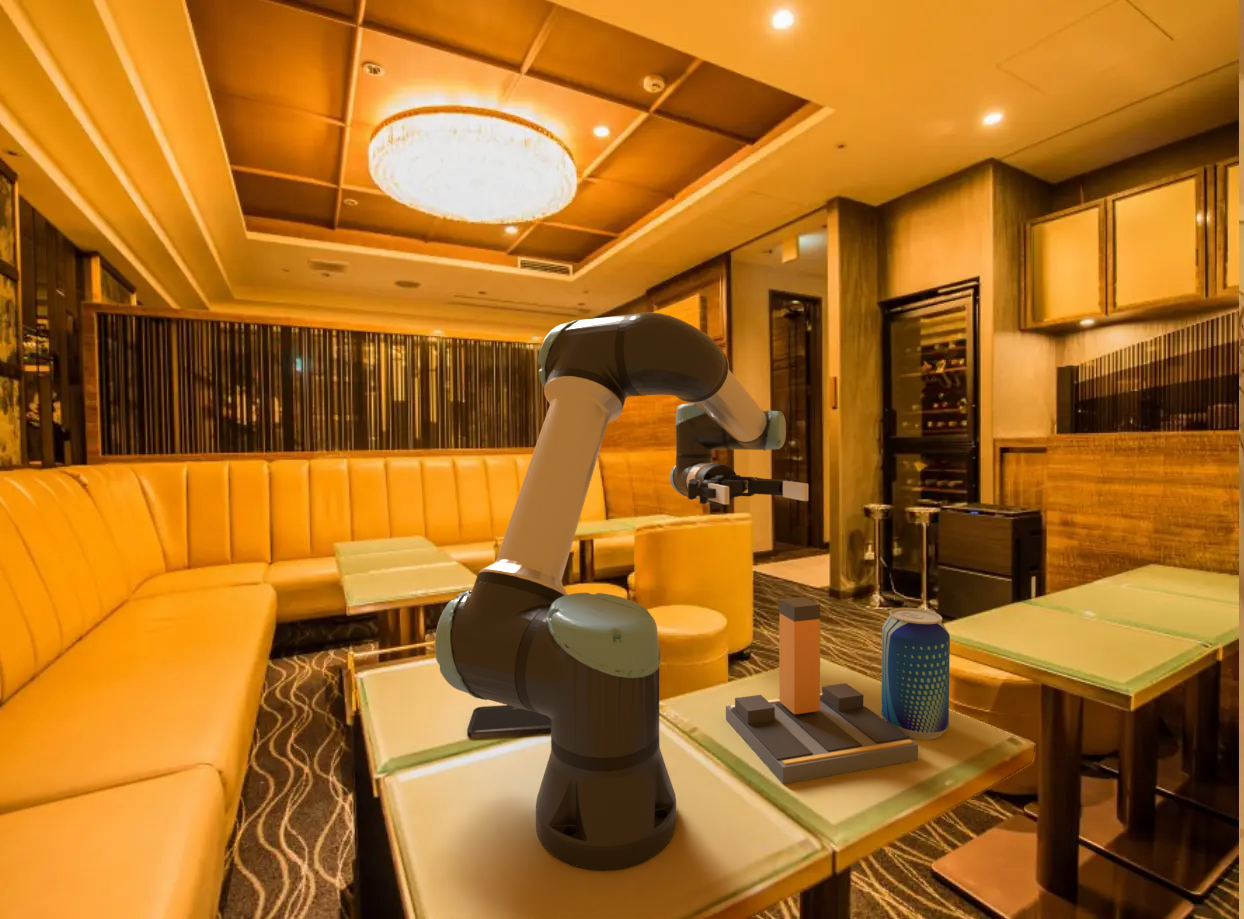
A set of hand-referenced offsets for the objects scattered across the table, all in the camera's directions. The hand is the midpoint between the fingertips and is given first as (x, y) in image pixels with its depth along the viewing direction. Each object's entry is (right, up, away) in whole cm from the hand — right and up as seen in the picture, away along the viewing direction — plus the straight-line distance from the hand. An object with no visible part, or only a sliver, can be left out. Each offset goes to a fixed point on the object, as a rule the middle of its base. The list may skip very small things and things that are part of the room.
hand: (767, 494), depth 90 cm
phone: (-37, -33, -6) cm, 50 cm away
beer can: (+18, -32, -9) cm, 38 cm away
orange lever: (+3, -30, -8) cm, 31 cm away
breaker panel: (+4, -32, -11) cm, 35 cm away
